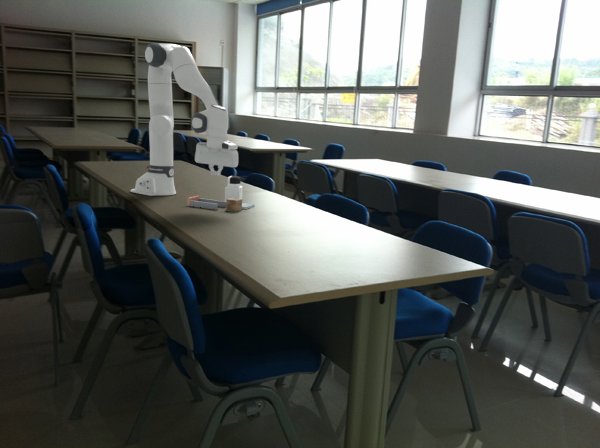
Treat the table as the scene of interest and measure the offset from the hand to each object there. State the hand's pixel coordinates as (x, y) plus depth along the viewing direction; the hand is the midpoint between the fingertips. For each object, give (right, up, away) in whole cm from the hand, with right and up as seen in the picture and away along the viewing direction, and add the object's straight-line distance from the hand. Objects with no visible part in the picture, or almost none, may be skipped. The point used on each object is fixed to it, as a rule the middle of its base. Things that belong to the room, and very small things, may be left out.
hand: (215, 175), depth 228 cm
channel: (-4, -14, +5) cm, 15 cm away
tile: (+10, -14, +9) cm, 19 cm away
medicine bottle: (+5, -11, +22) cm, 25 cm away
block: (+8, -15, 0) cm, 17 cm away
